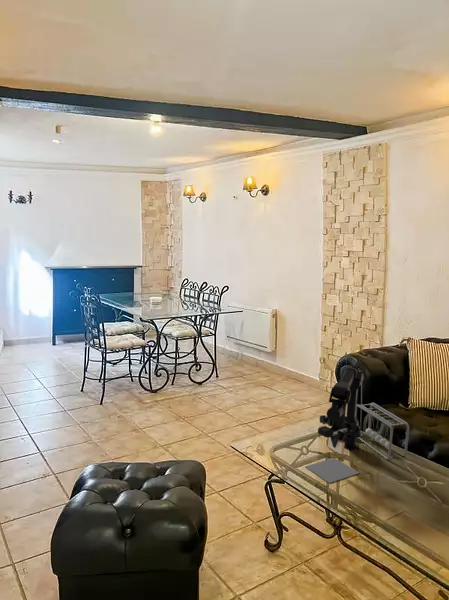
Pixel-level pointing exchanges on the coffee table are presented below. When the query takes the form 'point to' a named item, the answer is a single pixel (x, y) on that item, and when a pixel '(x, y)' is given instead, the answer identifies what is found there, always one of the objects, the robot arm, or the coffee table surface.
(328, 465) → the mat
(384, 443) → the newton's cradle
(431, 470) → the coffee table surface
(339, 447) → the tile
